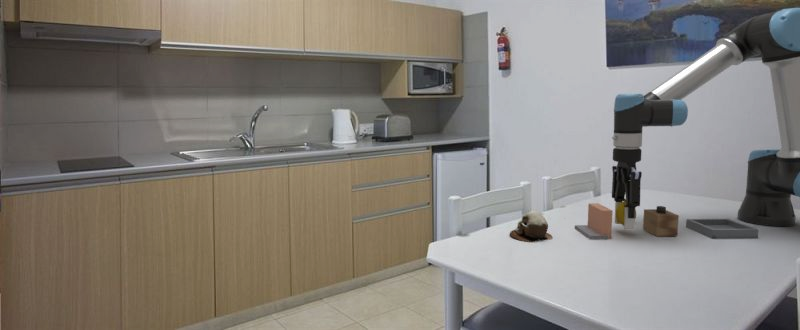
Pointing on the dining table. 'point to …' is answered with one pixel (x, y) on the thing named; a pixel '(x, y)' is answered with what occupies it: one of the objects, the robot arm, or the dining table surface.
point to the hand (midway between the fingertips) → (624, 225)
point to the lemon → (621, 212)
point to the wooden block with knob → (660, 222)
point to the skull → (531, 228)
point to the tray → (721, 228)
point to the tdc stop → (597, 222)
